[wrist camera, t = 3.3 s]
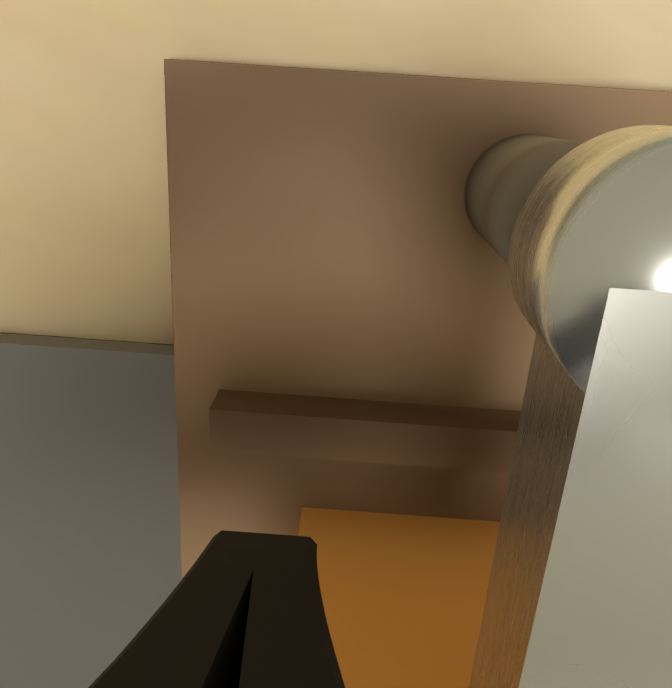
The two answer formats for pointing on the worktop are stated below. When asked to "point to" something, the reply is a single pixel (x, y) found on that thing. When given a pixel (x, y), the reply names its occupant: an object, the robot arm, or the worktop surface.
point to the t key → (590, 429)
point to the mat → (83, 503)
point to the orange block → (402, 594)
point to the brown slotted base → (354, 285)
